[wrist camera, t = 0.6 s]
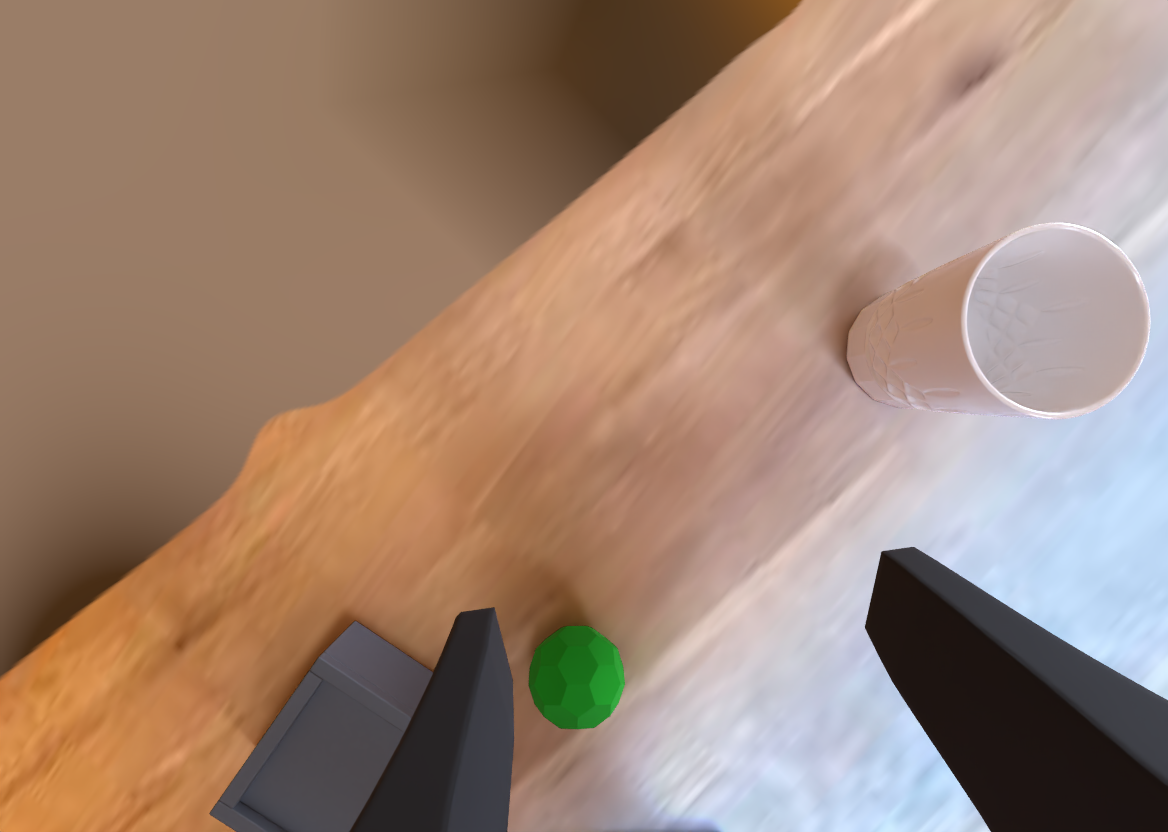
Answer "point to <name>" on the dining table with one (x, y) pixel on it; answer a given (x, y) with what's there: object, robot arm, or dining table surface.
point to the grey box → (328, 740)
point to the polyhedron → (576, 677)
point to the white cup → (1009, 329)
